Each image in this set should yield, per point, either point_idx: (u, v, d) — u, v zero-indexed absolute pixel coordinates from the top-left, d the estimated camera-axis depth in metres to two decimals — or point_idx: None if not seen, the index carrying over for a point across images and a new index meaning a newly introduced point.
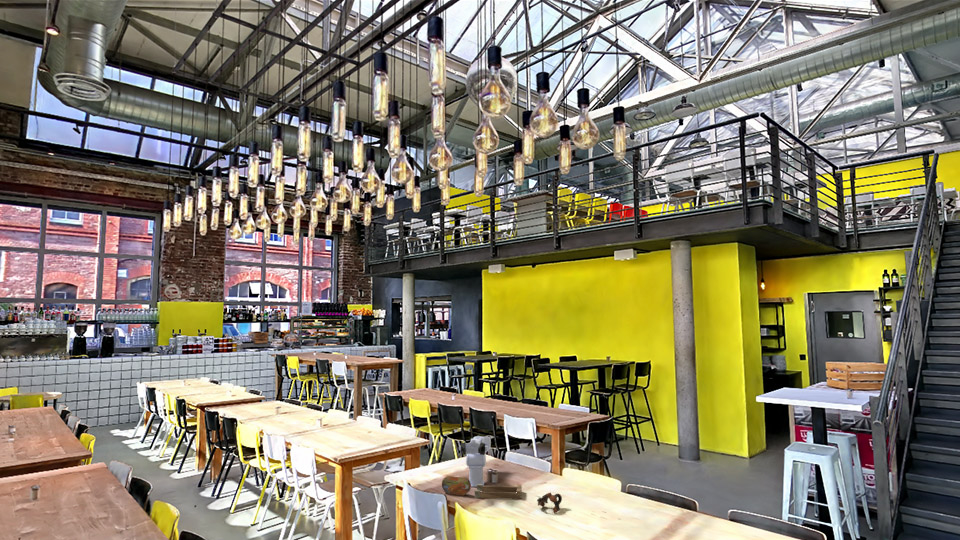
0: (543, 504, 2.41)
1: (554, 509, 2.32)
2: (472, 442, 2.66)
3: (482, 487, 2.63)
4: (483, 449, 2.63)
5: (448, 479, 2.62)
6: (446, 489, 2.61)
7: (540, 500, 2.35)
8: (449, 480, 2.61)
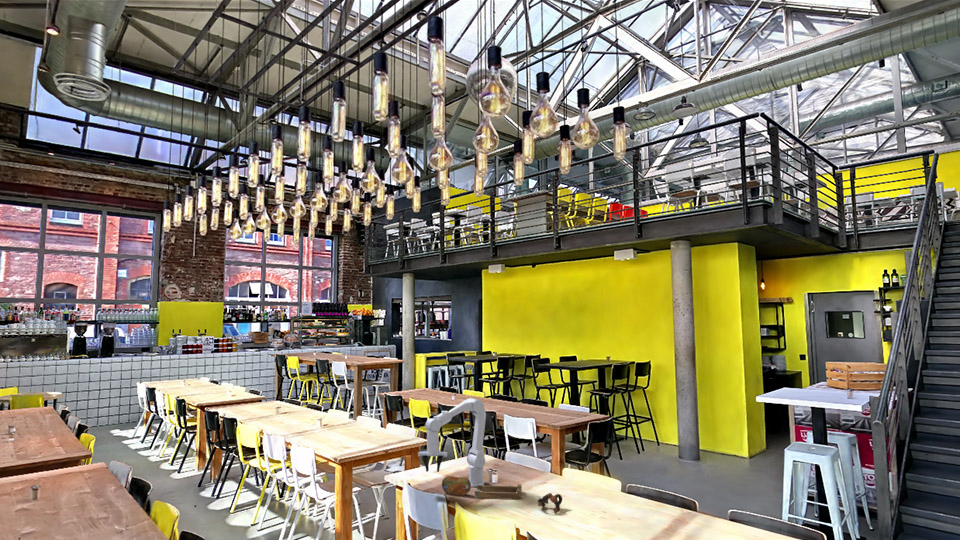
0: (543, 504, 2.40)
1: (554, 509, 2.32)
2: None
3: (482, 487, 2.63)
4: None
5: (448, 479, 2.62)
6: (446, 489, 2.61)
7: (541, 501, 2.35)
8: (449, 480, 2.61)
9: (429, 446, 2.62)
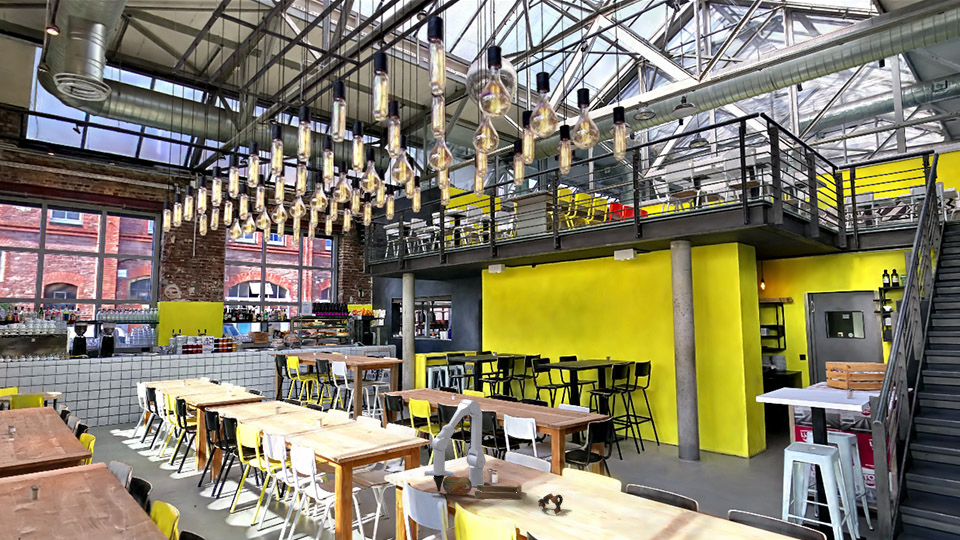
0: (544, 505, 2.39)
1: (555, 510, 2.31)
2: (437, 474, 2.60)
3: (482, 487, 2.63)
4: None
5: (449, 479, 2.62)
6: (447, 489, 2.61)
7: (541, 501, 2.34)
8: (450, 480, 2.61)
9: (435, 466, 2.60)
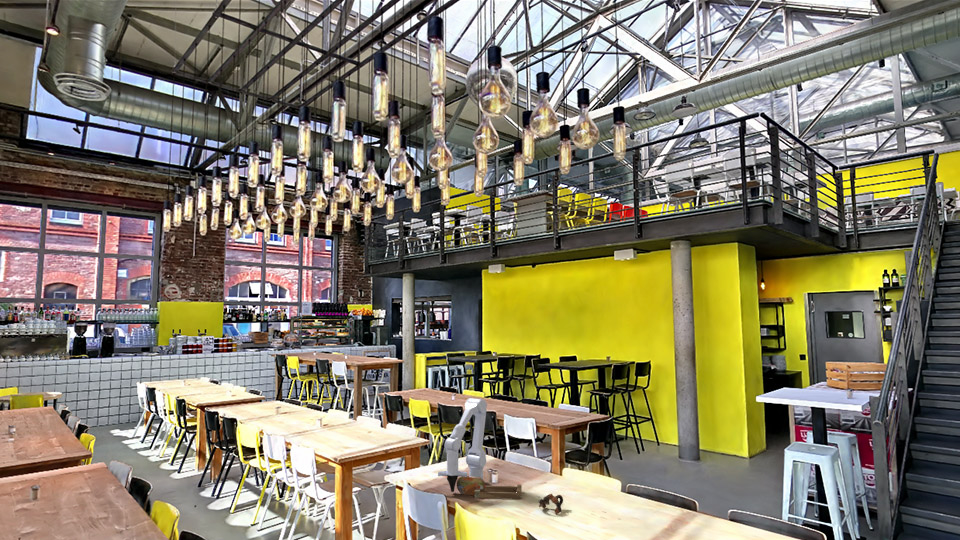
0: (544, 505, 2.39)
1: (555, 510, 2.31)
2: None
3: None
4: None
5: (463, 479, 2.61)
6: (461, 489, 2.60)
7: (542, 501, 2.33)
8: (464, 480, 2.60)
9: (449, 466, 2.59)
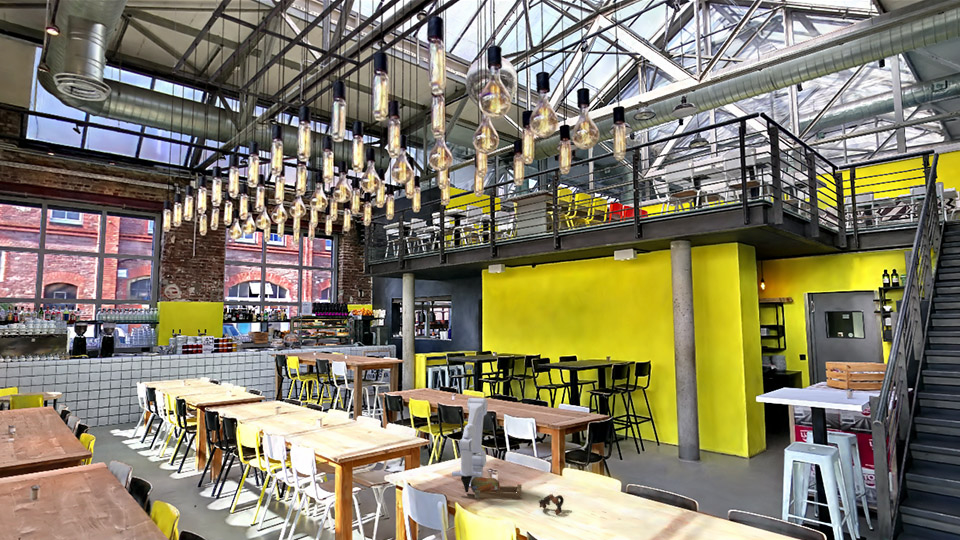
0: (545, 506, 2.38)
1: (556, 511, 2.30)
2: (465, 475, 2.58)
3: None
4: None
5: (477, 480, 2.60)
6: None
7: (542, 502, 2.33)
8: (478, 481, 2.60)
9: (463, 466, 2.59)
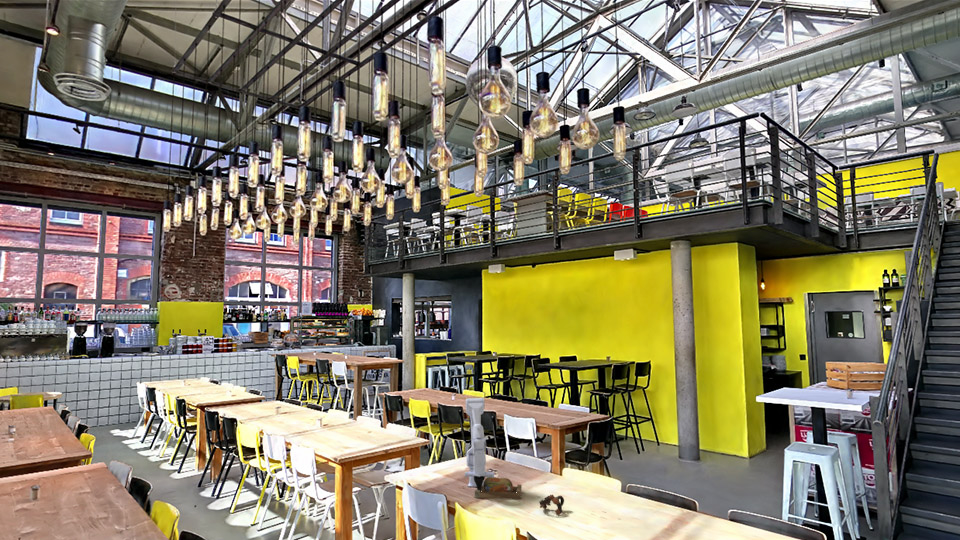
0: (545, 506, 2.38)
1: (557, 511, 2.29)
2: (477, 475, 2.57)
3: (482, 487, 2.63)
4: None
5: (490, 480, 2.59)
6: (487, 490, 2.59)
7: (543, 502, 2.32)
8: (491, 481, 2.59)
9: (476, 467, 2.58)
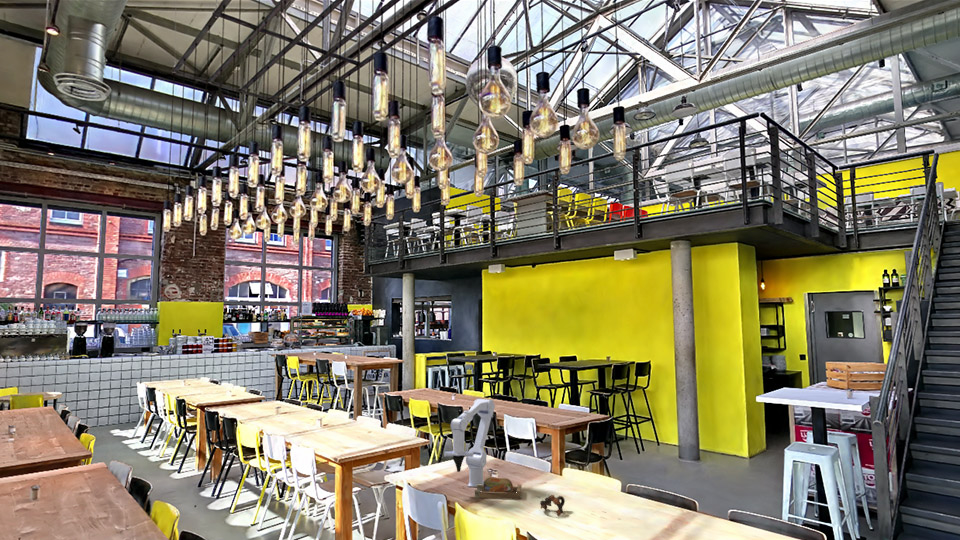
0: (546, 507, 2.37)
1: (557, 512, 2.29)
2: None
3: (482, 487, 2.63)
4: None
5: (490, 480, 2.59)
6: (487, 490, 2.59)
7: (543, 503, 2.31)
8: (491, 481, 2.59)
9: (455, 446, 2.61)
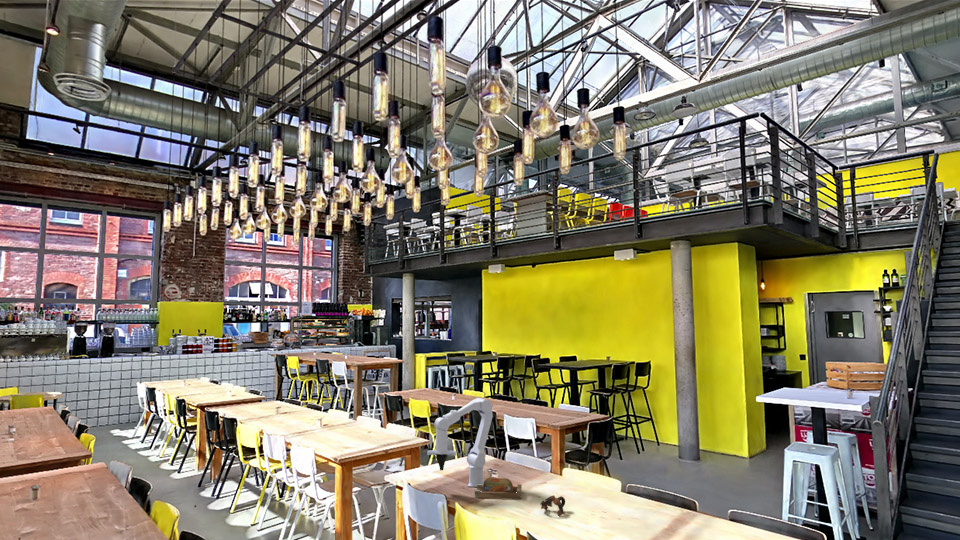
0: (546, 507, 2.36)
1: (558, 512, 2.28)
2: (439, 453, 2.63)
3: (482, 487, 2.63)
4: None
5: (490, 480, 2.59)
6: (487, 490, 2.59)
7: (544, 503, 2.31)
8: (491, 481, 2.59)
9: (438, 445, 2.64)
